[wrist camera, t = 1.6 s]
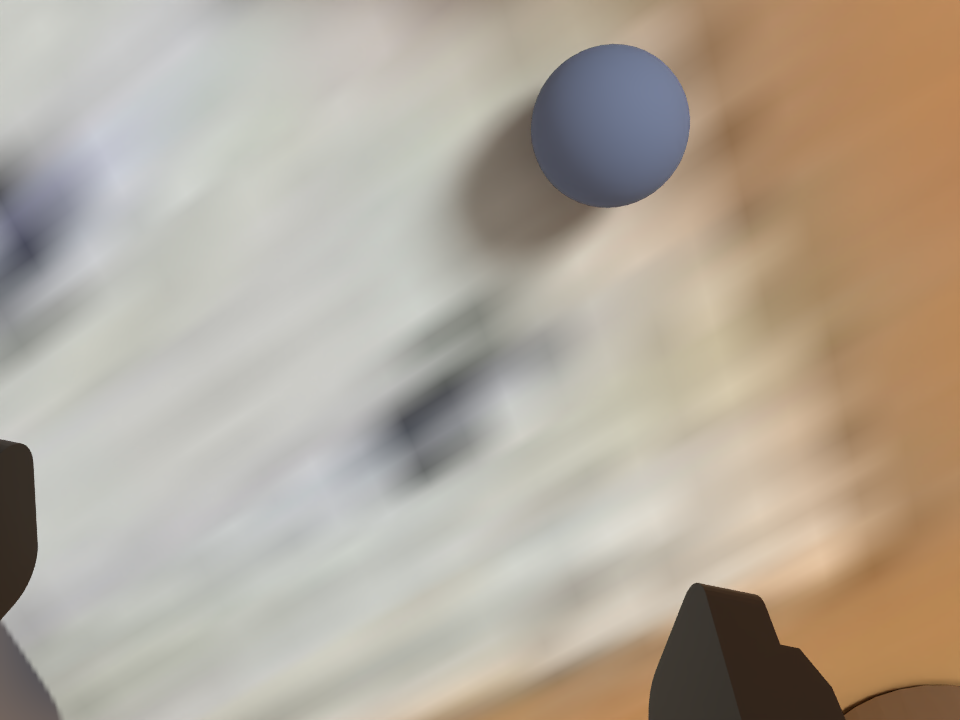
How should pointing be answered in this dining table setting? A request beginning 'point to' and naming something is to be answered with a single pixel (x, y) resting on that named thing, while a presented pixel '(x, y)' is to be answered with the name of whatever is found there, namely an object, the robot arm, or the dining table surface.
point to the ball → (610, 125)
